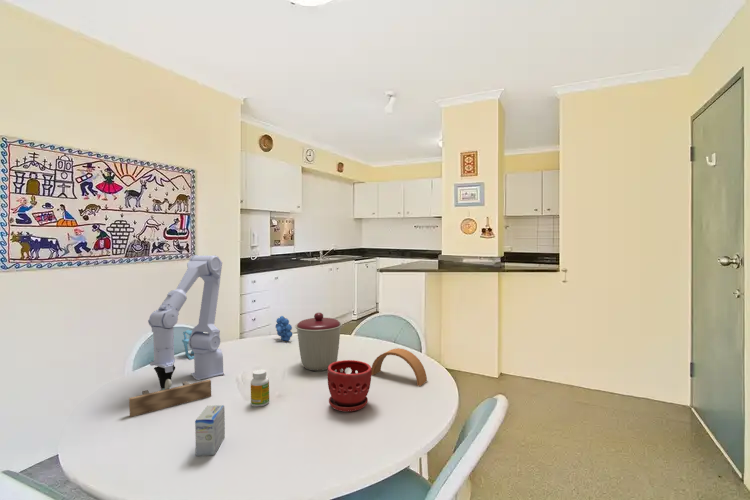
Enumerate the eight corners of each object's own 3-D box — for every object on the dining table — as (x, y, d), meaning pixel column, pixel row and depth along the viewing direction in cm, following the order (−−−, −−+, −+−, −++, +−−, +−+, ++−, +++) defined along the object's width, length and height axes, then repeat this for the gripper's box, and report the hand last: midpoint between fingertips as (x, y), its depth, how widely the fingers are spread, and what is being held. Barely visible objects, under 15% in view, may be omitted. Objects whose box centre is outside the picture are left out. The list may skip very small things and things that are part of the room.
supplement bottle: (264, 407, 115) (263, 375, 115) (247, 406, 116) (246, 374, 116) (272, 400, 120) (271, 369, 120) (256, 398, 121) (255, 368, 121)
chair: (197, 351, 172) (196, 325, 171) (207, 355, 167) (206, 327, 166) (180, 356, 165) (179, 328, 165) (190, 359, 161) (189, 331, 160)
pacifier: (156, 406, 117) (178, 400, 121) (155, 386, 116) (176, 380, 120) (150, 399, 122) (171, 393, 126) (149, 380, 122) (169, 374, 126)
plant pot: (337, 419, 107) (337, 376, 107) (321, 401, 119) (321, 363, 118) (379, 409, 113) (379, 368, 113) (360, 393, 125) (359, 356, 124)
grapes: (269, 340, 189) (268, 316, 188) (280, 337, 194) (280, 313, 193) (284, 344, 181) (283, 319, 181) (295, 341, 186) (295, 316, 186)
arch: (379, 370, 146) (379, 344, 146) (427, 381, 135) (426, 353, 134) (370, 375, 141) (370, 348, 141) (419, 387, 130) (419, 357, 130)
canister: (286, 371, 146) (285, 315, 145) (311, 357, 163) (310, 307, 162) (328, 377, 139) (327, 319, 138) (350, 361, 156) (349, 309, 155)
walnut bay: (202, 386, 132) (201, 371, 132) (211, 396, 124) (210, 380, 123) (125, 404, 118) (125, 388, 118) (130, 417, 110) (129, 399, 110)
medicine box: (207, 439, 98) (206, 405, 97) (225, 438, 98) (224, 404, 98) (195, 456, 90) (194, 420, 89) (215, 455, 90) (214, 419, 90)
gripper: (145, 344, 128) (147, 384, 129) (154, 354, 117) (155, 399, 117) (169, 340, 132) (170, 379, 133) (179, 350, 121) (180, 392, 122)
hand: (165, 388), depth 125 cm, fingers closed
